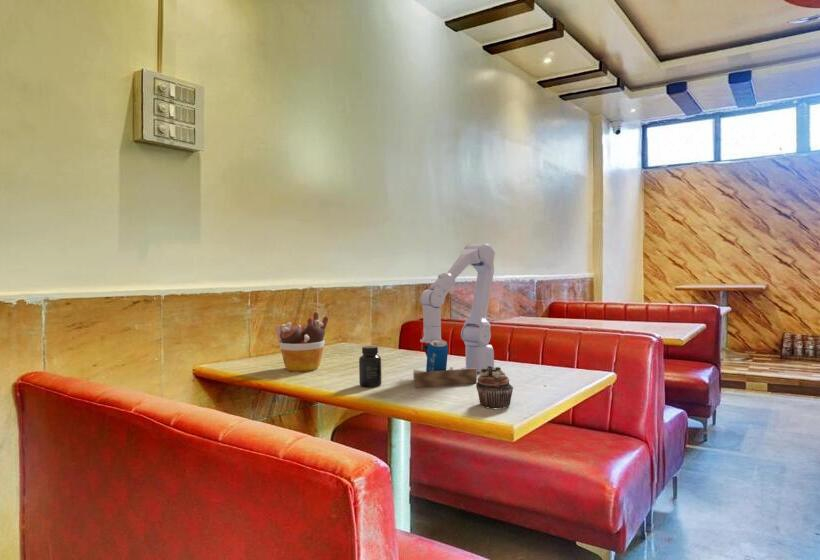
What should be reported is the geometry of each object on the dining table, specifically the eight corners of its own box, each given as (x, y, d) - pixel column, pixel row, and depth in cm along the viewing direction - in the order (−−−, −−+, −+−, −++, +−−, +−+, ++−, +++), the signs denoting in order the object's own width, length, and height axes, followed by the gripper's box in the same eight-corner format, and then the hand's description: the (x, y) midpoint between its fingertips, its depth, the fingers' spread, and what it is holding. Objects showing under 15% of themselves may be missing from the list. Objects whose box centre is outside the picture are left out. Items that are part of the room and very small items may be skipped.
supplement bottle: (359, 383, 173) (359, 345, 172) (381, 382, 173) (380, 345, 173) (359, 388, 166) (358, 349, 165) (381, 387, 166) (381, 348, 166)
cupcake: (509, 411, 138) (509, 371, 138) (472, 407, 142) (471, 369, 141) (516, 401, 147) (516, 365, 147) (481, 399, 151) (481, 363, 150)
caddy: (461, 375, 183) (460, 361, 182) (476, 383, 170) (476, 368, 170) (403, 379, 177) (403, 365, 177) (415, 388, 165) (415, 373, 165)
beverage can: (422, 377, 176) (424, 343, 172) (431, 370, 181) (433, 336, 177) (440, 383, 173) (443, 348, 169) (448, 375, 178) (451, 341, 175)
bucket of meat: (303, 375, 185) (302, 317, 185) (266, 371, 193) (265, 315, 192) (338, 365, 203) (337, 312, 202) (303, 362, 211) (302, 311, 210)
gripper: (414, 324, 185) (414, 364, 185) (427, 328, 171) (428, 371, 172) (433, 323, 187) (434, 362, 187) (448, 327, 173) (449, 370, 174)
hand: (432, 367), depth 180 cm, fingers closed
